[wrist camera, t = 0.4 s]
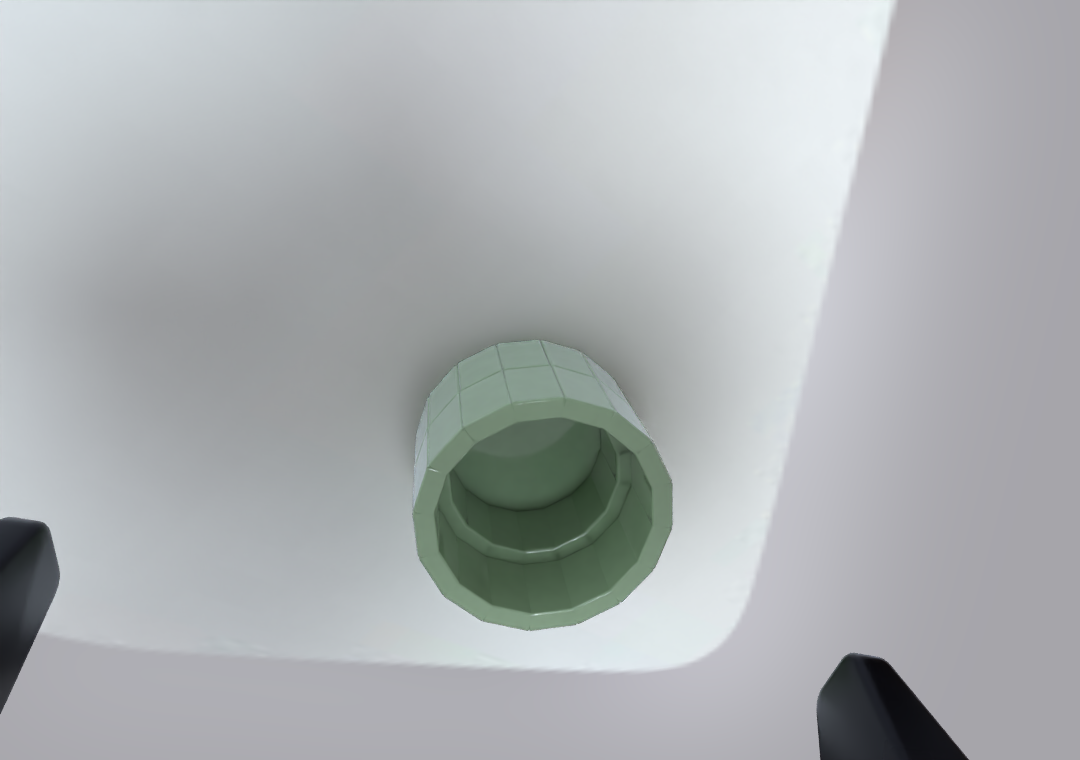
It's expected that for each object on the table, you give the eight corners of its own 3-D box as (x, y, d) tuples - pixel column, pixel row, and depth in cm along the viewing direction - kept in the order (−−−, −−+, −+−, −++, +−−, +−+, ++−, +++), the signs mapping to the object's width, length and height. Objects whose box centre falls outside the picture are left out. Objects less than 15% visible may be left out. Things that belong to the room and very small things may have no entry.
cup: (627, 513, 25) (673, 613, 20) (429, 536, 24) (429, 644, 19) (623, 323, 23) (672, 385, 18) (406, 344, 22) (399, 414, 17)
